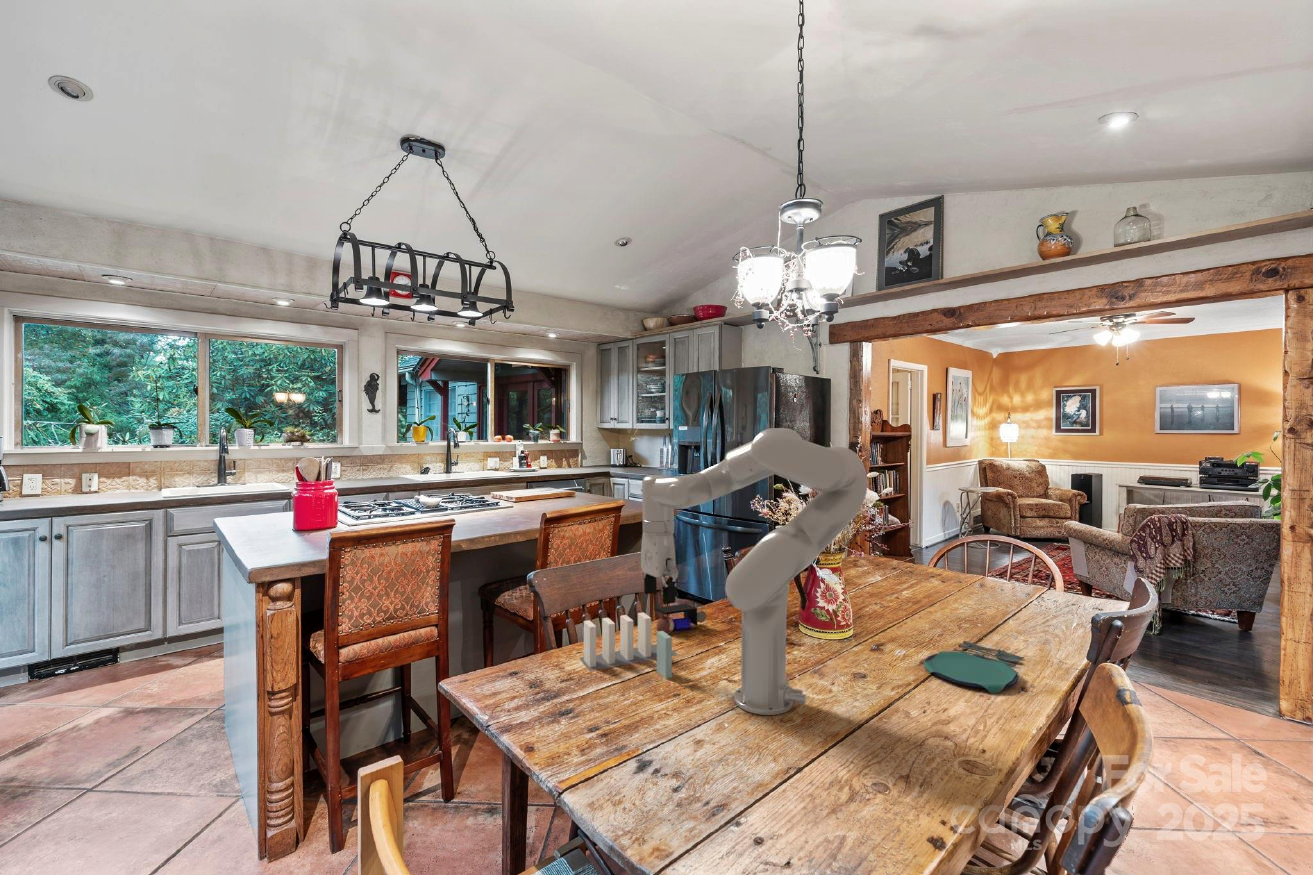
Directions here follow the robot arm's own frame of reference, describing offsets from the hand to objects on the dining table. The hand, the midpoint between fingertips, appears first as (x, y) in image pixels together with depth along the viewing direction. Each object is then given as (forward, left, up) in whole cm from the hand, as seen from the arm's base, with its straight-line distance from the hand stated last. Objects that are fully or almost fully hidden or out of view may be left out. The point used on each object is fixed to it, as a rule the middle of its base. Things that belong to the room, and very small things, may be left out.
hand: (659, 598), depth 139 cm
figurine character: (+8, -31, -19) cm, 37 cm away
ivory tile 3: (+15, -2, -18) cm, 24 cm away
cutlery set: (-70, -37, -19) cm, 81 cm away
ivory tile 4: (+18, +2, -18) cm, 26 cm away
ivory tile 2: (+12, -6, -18) cm, 23 cm away
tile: (-1, 0, -19) cm, 19 cm away
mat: (+12, -6, -19) cm, 23 cm away
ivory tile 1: (+9, -10, -18) cm, 23 cm away
